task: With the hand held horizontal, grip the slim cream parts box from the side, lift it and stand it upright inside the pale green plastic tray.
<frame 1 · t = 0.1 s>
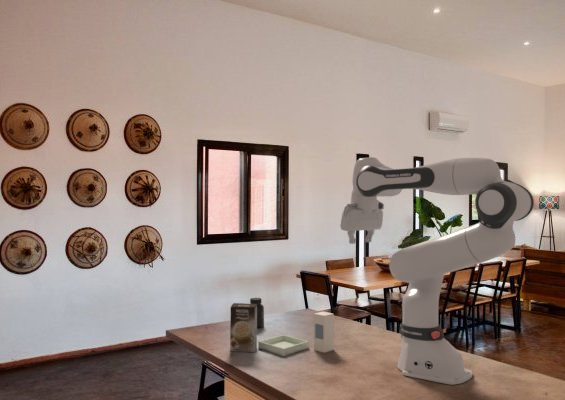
hand: (360, 242, 171), 39 cm above the table, tool pointing down, fingers open, 8 cm apart
parts box: (323, 349, 175), on the table
coffee box: (243, 349, 176), on the table
tray: (283, 348, 177), on the table
supplement bottle: (256, 327, 208), on the table
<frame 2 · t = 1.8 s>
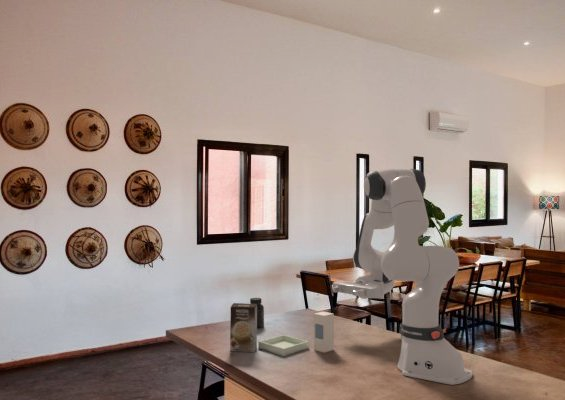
hand: (344, 291, 184), 19 cm above the table, tool horizontal, fingers open, 8 cm apart
nothing on the table moved.
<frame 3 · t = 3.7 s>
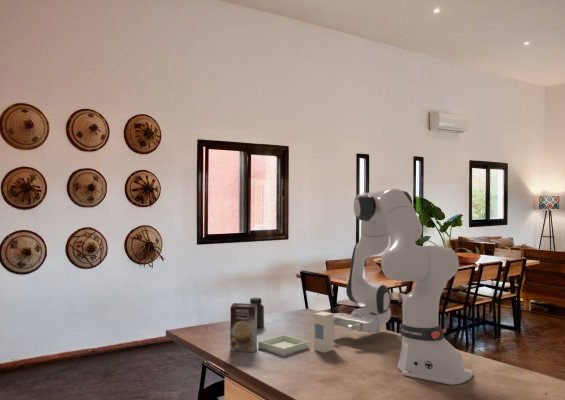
hand: (339, 325, 182), 7 cm above the table, tool horizontal, fingers open, 8 cm apart
nothing on the table moved.
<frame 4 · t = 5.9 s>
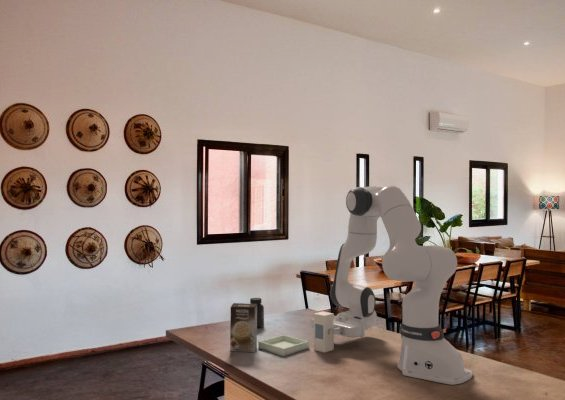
hand: (322, 330, 175), 7 cm above the table, tool horizontal, fingers closed on parts box, 5 cm apart
parts box: (323, 349, 175), on the table, touching gripper
everything else where it was.
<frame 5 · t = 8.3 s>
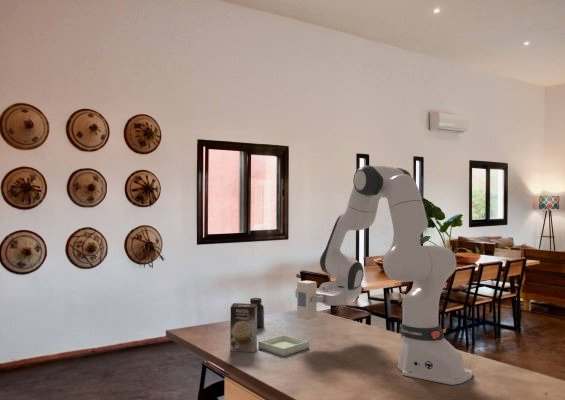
hand: (305, 298, 176), 18 cm above the table, tool horizontal, fingers closed on parts box, 5 cm apart
parts box: (306, 317, 177), point 11 cm above the table, touching gripper
everything else where it was.
when the fingers open (9 cm above the table, at t = 11.0 s): parts box drops 1 cm, resting on tray.
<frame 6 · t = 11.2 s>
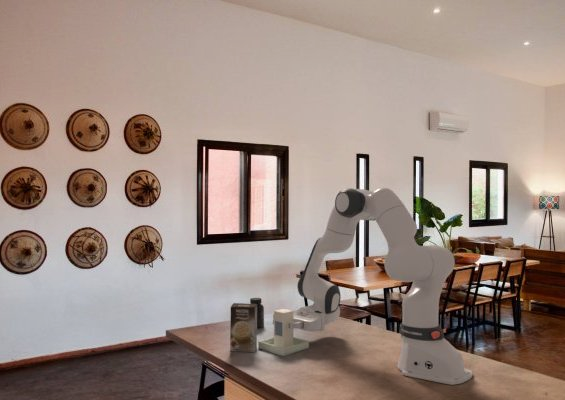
hand: (281, 324, 176), 9 cm above the table, tool horizontal, fingers open, 7 cm apart
parts box: (283, 346, 177), point 1 cm above the table, touching tray
everything else where it was.
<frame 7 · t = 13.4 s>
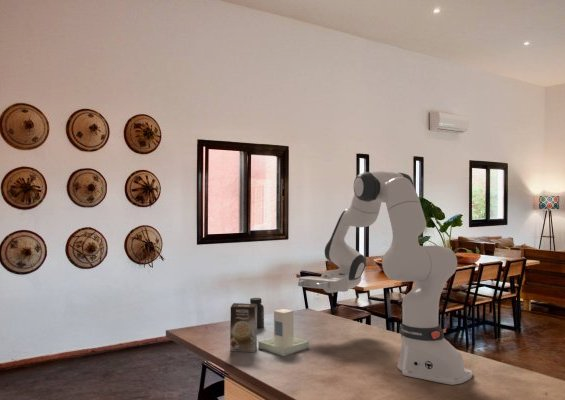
hand: (308, 285, 186), 21 cm above the table, tool horizontal, fingers open, 8 cm apart
nothing on the table moved.
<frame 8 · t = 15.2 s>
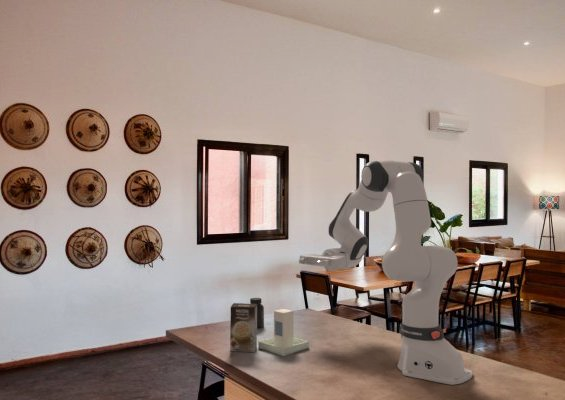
hand: (309, 262, 187), 30 cm above the table, tool horizontal, fingers open, 8 cm apart
nothing on the table moved.
at the end: parts box 0.0 cm from the tray (horizontally); parts box tilted 0°; the gripper is holding nothing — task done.
